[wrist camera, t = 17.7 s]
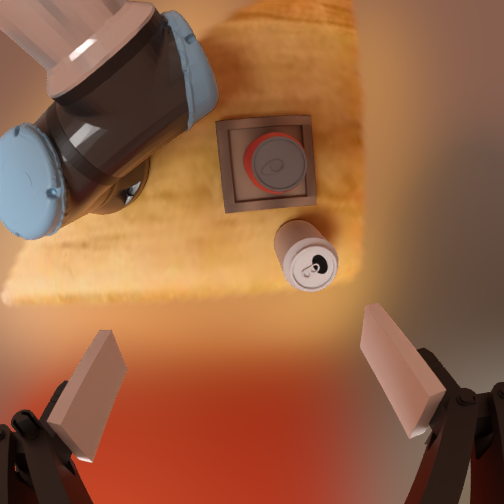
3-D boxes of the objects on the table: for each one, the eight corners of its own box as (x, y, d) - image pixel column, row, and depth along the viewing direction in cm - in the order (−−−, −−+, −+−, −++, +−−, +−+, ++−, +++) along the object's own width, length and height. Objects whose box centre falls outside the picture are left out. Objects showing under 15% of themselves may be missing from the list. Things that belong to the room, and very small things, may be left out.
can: (325, 248, 48) (351, 278, 36) (286, 270, 49) (301, 306, 37) (305, 209, 45) (327, 230, 34) (264, 233, 46) (273, 261, 35)
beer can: (234, 150, 38) (233, 149, 27) (277, 128, 37) (294, 119, 26) (256, 191, 40) (265, 208, 29) (298, 170, 39) (323, 179, 28)
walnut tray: (226, 207, 45) (224, 215, 40) (217, 123, 40) (214, 120, 35) (309, 200, 45) (318, 206, 40) (303, 117, 40) (312, 113, 35)
